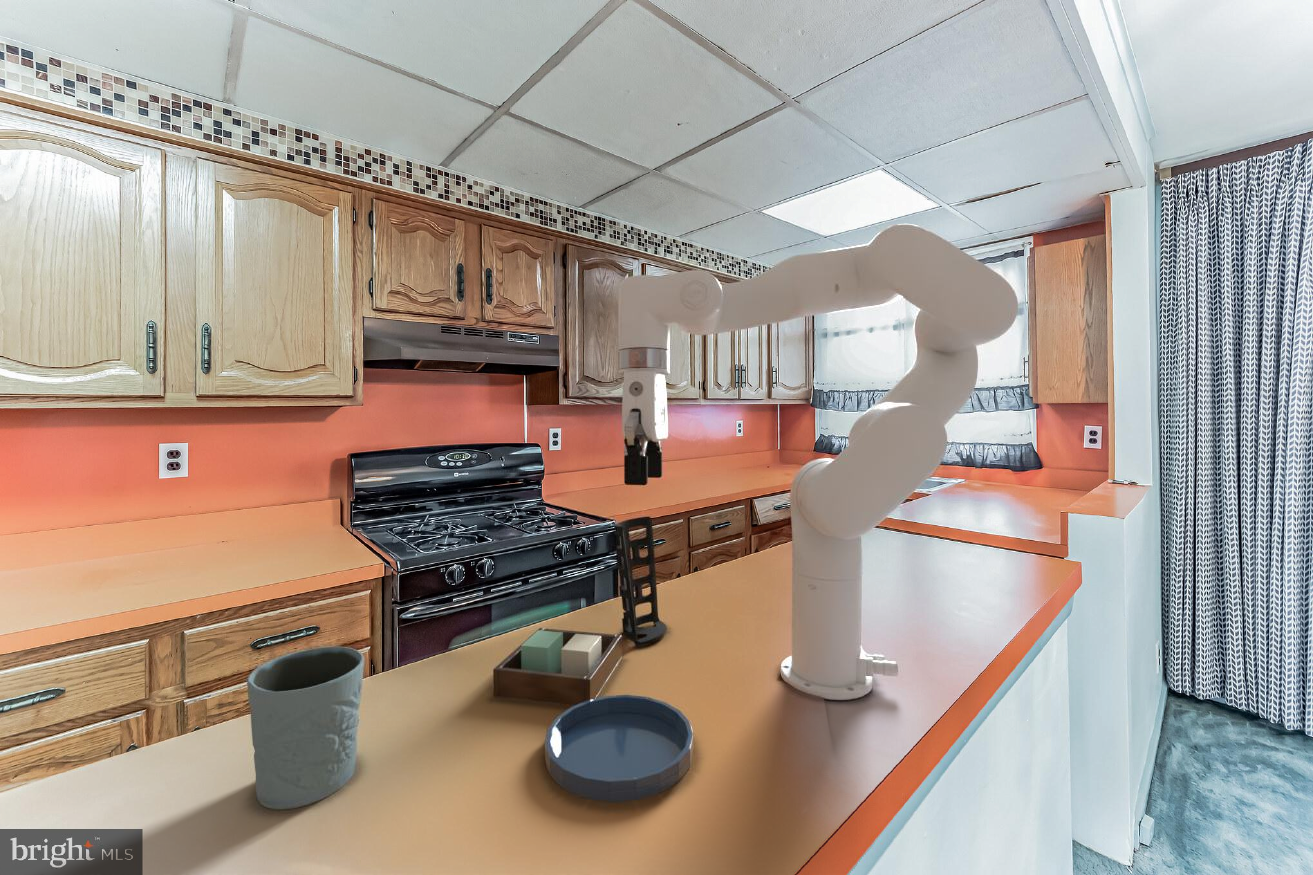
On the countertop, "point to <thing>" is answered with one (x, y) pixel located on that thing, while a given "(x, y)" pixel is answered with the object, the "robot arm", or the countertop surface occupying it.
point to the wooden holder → (557, 675)
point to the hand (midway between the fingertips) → (644, 480)
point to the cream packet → (580, 654)
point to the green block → (542, 652)
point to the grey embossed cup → (305, 724)
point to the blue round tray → (619, 748)
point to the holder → (637, 582)
